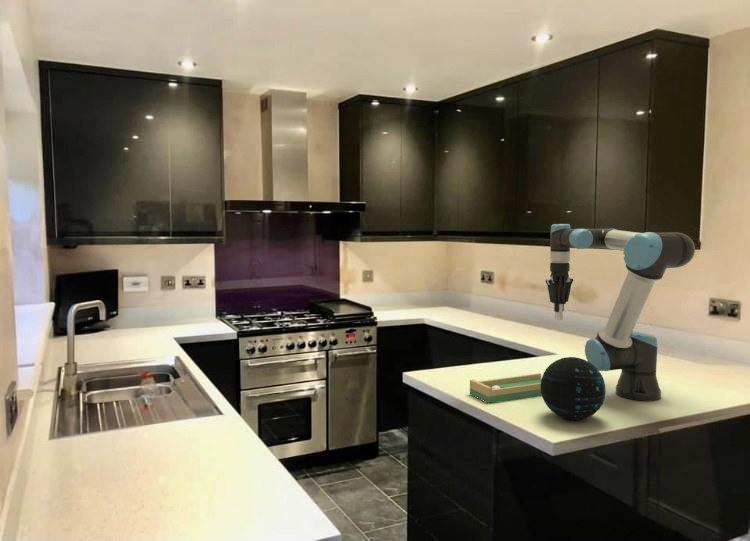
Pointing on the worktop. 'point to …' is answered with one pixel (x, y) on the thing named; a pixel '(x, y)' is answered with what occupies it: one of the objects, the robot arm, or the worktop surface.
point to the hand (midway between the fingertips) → (558, 319)
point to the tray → (507, 388)
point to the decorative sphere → (573, 388)
